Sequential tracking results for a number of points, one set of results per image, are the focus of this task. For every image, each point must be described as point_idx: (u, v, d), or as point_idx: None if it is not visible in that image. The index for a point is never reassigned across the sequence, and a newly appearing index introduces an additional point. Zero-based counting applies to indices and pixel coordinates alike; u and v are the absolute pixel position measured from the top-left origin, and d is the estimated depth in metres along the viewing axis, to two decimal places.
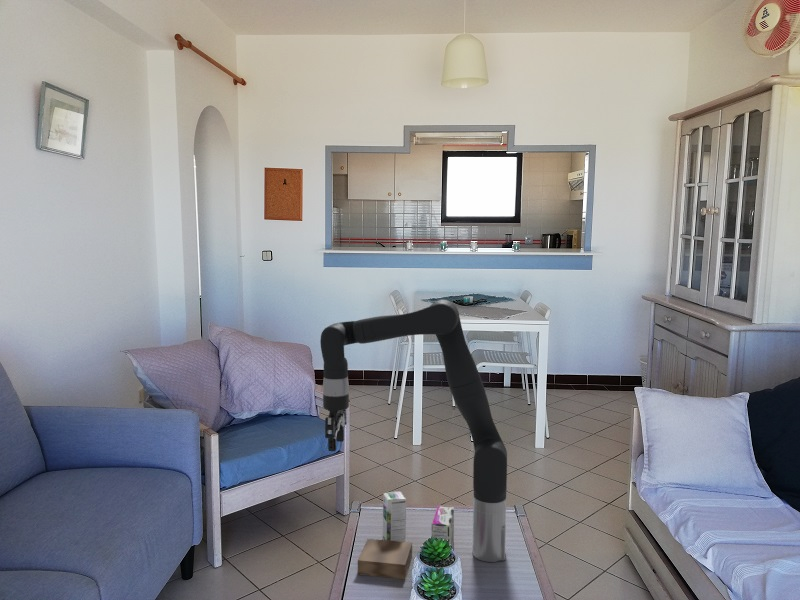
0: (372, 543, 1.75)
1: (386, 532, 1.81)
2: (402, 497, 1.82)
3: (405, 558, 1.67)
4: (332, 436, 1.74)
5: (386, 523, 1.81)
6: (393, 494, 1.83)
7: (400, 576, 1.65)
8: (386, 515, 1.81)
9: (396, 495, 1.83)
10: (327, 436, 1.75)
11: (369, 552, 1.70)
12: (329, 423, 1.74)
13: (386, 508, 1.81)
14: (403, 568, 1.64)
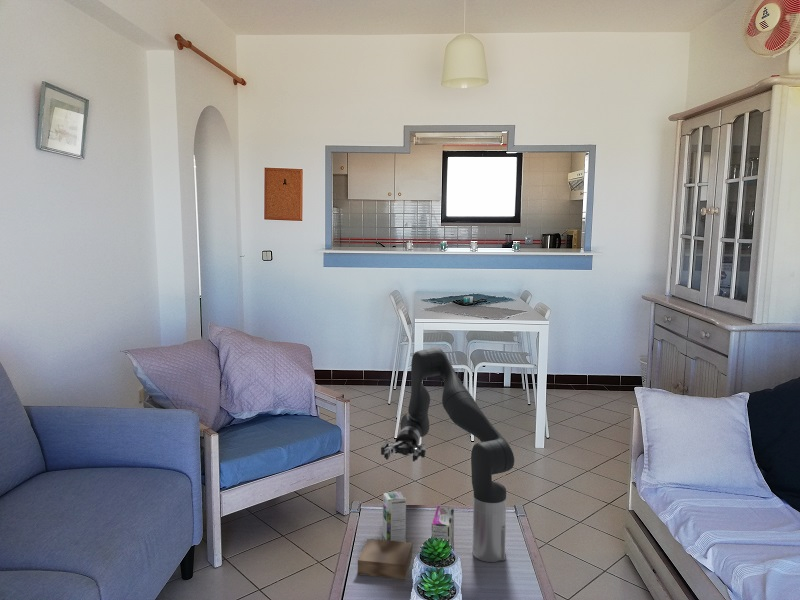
0: (372, 543, 1.75)
1: (386, 532, 1.81)
2: (402, 497, 1.82)
3: (405, 558, 1.67)
4: None
5: (386, 523, 1.81)
6: (393, 494, 1.83)
7: (400, 576, 1.65)
8: (386, 515, 1.81)
9: (396, 495, 1.83)
10: None
11: (369, 552, 1.70)
12: None
13: (386, 508, 1.81)
14: (403, 568, 1.64)
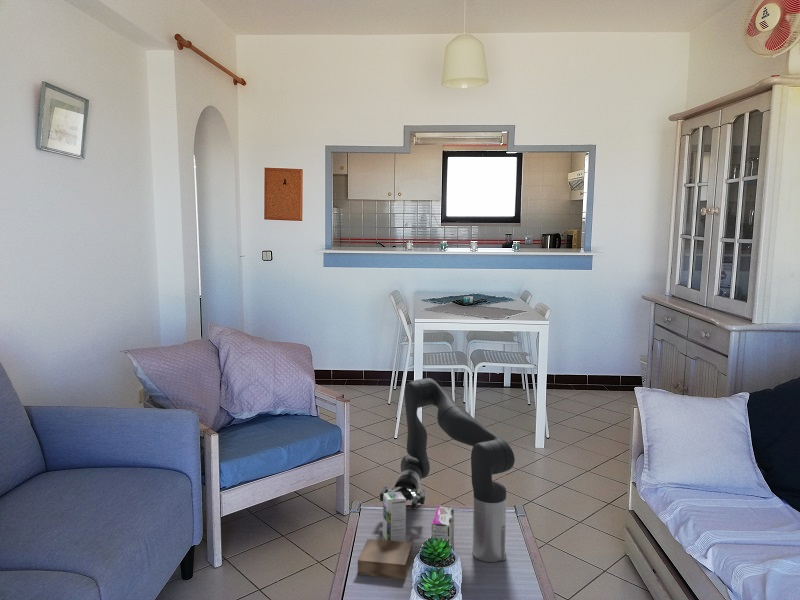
0: (372, 543, 1.75)
1: (386, 532, 1.81)
2: (402, 497, 1.82)
3: (405, 558, 1.67)
4: None
5: (386, 523, 1.81)
6: (393, 494, 1.83)
7: (400, 576, 1.65)
8: (386, 515, 1.81)
9: (396, 495, 1.83)
10: None
11: (369, 552, 1.70)
12: None
13: (386, 508, 1.81)
14: (403, 568, 1.64)
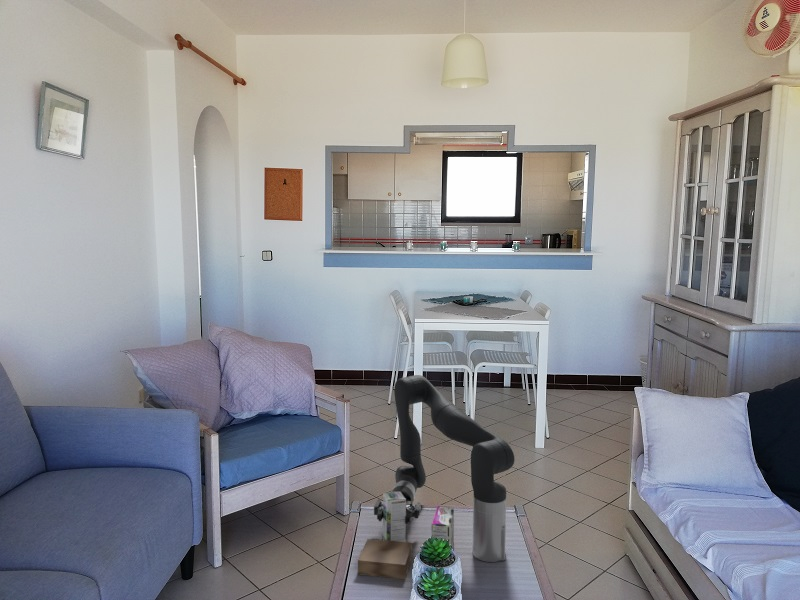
0: (372, 543, 1.75)
1: (386, 531, 1.81)
2: (402, 497, 1.82)
3: (405, 558, 1.67)
4: None
5: (386, 523, 1.81)
6: (393, 494, 1.83)
7: (400, 576, 1.65)
8: (386, 515, 1.81)
9: (396, 495, 1.83)
10: None
11: (369, 552, 1.70)
12: None
13: (386, 508, 1.81)
14: (403, 568, 1.64)
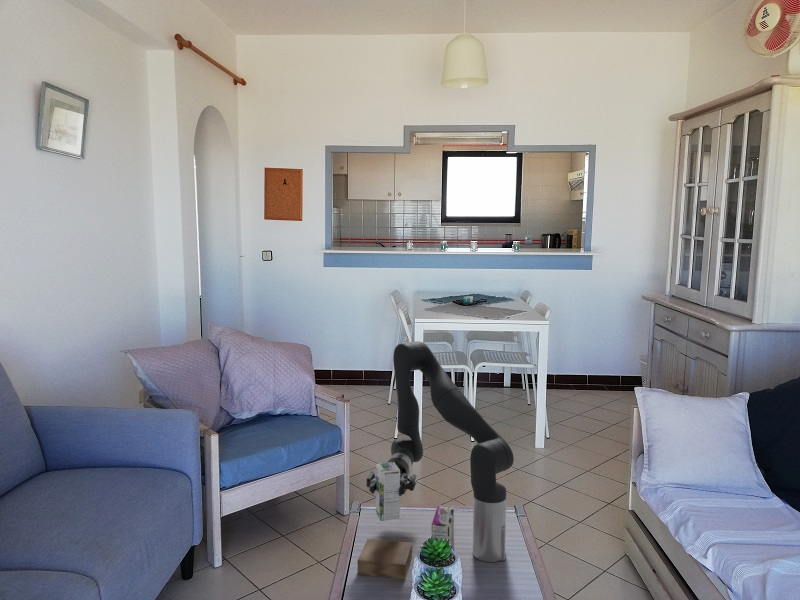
0: (372, 543, 1.75)
1: (379, 504, 1.70)
2: (396, 467, 1.71)
3: (405, 558, 1.67)
4: None
5: (379, 495, 1.70)
6: (386, 465, 1.73)
7: (400, 576, 1.65)
8: (379, 486, 1.70)
9: (390, 465, 1.72)
10: None
11: (369, 552, 1.70)
12: None
13: (378, 479, 1.70)
14: (403, 568, 1.64)
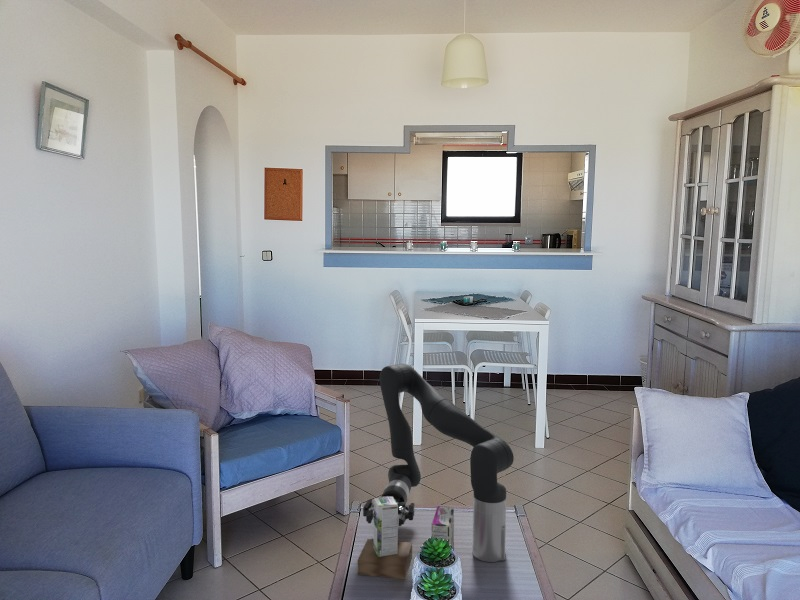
0: (372, 543, 1.75)
1: (377, 540, 1.68)
2: (394, 502, 1.69)
3: (405, 558, 1.67)
4: None
5: (376, 530, 1.68)
6: (384, 499, 1.70)
7: (400, 576, 1.65)
8: (376, 522, 1.68)
9: (388, 500, 1.70)
10: None
11: (369, 552, 1.70)
12: None
13: (376, 514, 1.68)
14: (403, 568, 1.64)
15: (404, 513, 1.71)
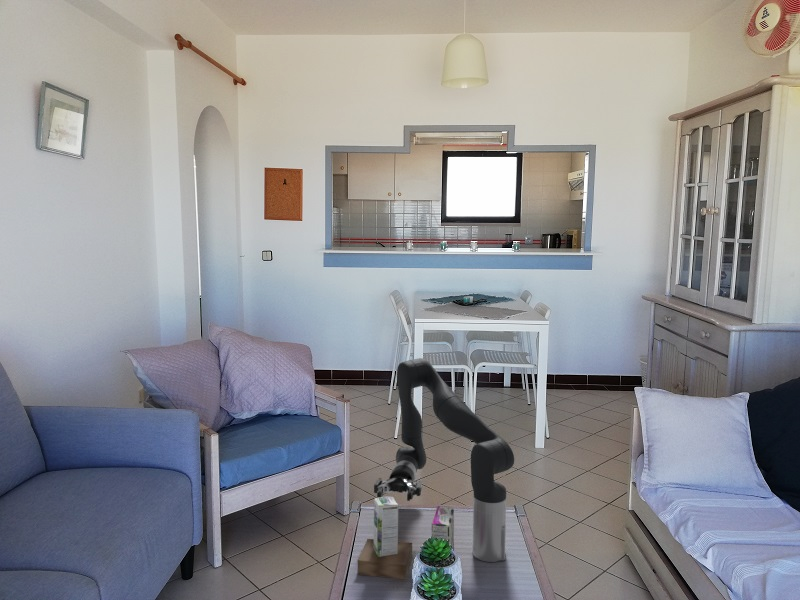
0: (372, 543, 1.75)
1: (377, 540, 1.68)
2: (394, 502, 1.69)
3: (405, 558, 1.67)
4: None
5: (377, 530, 1.68)
6: (385, 499, 1.70)
7: (400, 576, 1.65)
8: (377, 522, 1.68)
9: (388, 500, 1.70)
10: None
11: (369, 552, 1.70)
12: None
13: (376, 514, 1.68)
14: (403, 568, 1.64)
15: (412, 489, 1.84)
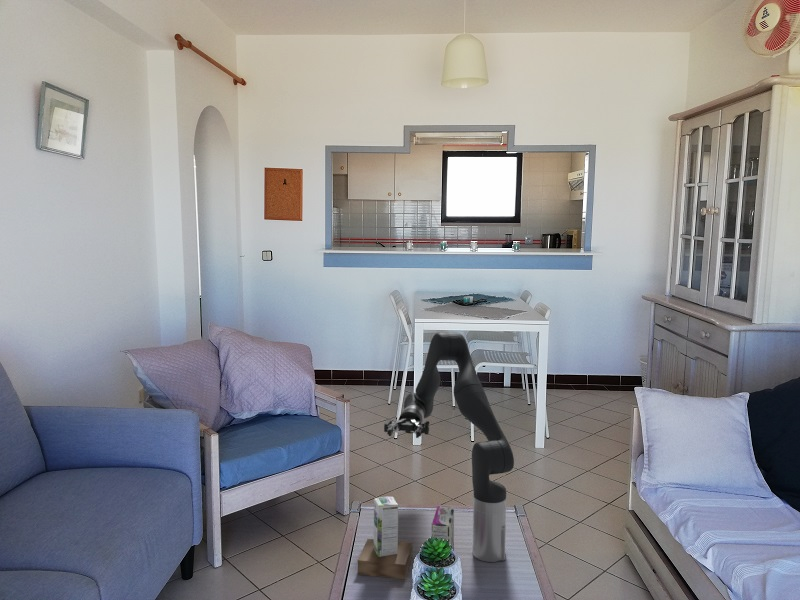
0: (372, 543, 1.75)
1: (377, 540, 1.68)
2: (394, 502, 1.69)
3: (405, 558, 1.67)
4: None
5: (377, 530, 1.68)
6: (385, 499, 1.70)
7: (400, 576, 1.65)
8: (377, 522, 1.68)
9: (388, 500, 1.70)
10: None
11: (369, 552, 1.70)
12: None
13: (376, 514, 1.68)
14: (403, 568, 1.64)
15: (421, 428, 1.94)
